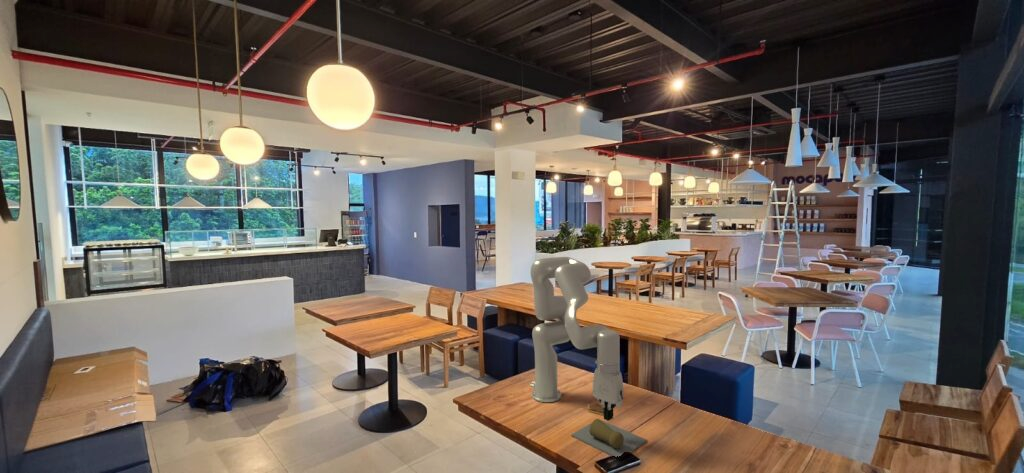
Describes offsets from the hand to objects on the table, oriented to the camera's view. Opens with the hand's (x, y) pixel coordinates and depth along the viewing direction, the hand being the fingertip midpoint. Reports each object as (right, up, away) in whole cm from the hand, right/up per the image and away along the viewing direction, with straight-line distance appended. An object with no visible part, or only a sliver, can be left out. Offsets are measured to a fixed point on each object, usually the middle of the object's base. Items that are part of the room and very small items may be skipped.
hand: (608, 418), depth 146 cm
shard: (+2, -7, +21) cm, 22 cm away
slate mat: (0, -7, 0) cm, 7 cm away
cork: (-4, -4, +1) cm, 6 cm away
